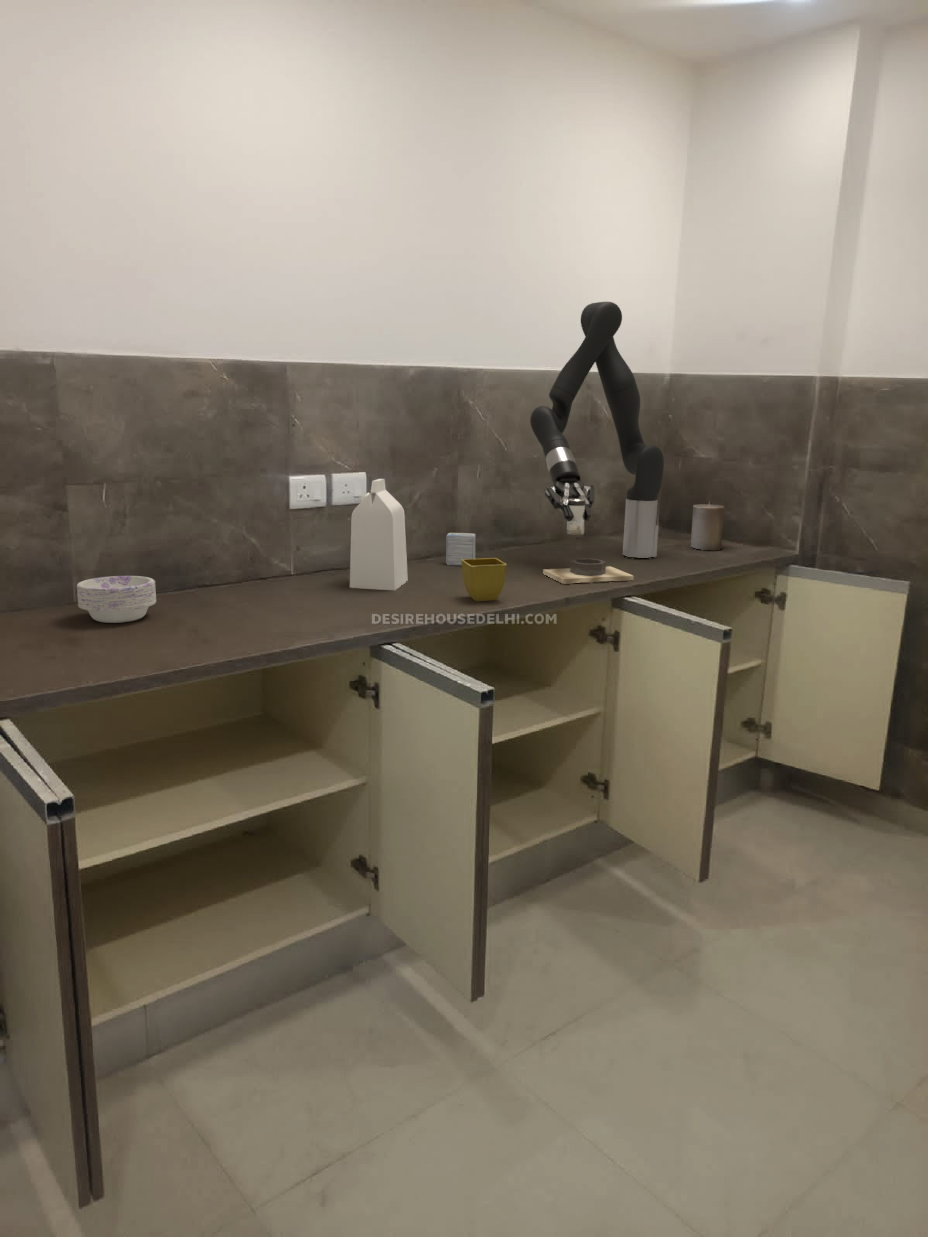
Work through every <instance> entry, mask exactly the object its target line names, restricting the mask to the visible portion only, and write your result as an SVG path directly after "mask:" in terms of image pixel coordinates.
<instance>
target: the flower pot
mask: <svg viewBox="0 0 928 1237" xmlns="http://www.w3.org/2000/svg"><path fill="white" fill-rule="evenodd" d="M461 564H462V565H461V572H462V573H461V574H462V579H463V583H464V584H463V585H464V587H465V589H466V591H467V594H468V595H469V597H470V598H471V599H473V600H474V601H475V602H488V601H489V602H490V601H496V600H498V598H499V596H500V595H501V593H502V592H503V589H504V585H505V580H506V573H507V566H508V565H507V563H506V562H503V561H502V560H500V559H499V558H497V557H489V558H488V557H487V558H485V557H484V558H475V559H462V560H461Z"/></svg>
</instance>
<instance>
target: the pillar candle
mask: <svg viewBox="0 0 928 1237" xmlns="http://www.w3.org/2000/svg"><path fill="white" fill-rule="evenodd" d="M724 517H725V506H724V505H722V504H721V505H720V504H711V501H709V502H708V503H707V504H705V503H704V504H703V503H701V504H699V503H698V504H693V506H692V520H691V534H690V548H691V547H693V548H696V549H701V550H700V551H703V550H711V552H713V551H721V550H722V544H723V543H722V542H723V533H724V531H723V530H724V529H723V528H724V519H725V518H724ZM693 548H692V549H693ZM696 549H695V550H696ZM720 549H721V550H720Z"/></svg>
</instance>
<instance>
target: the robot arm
mask: <svg viewBox="0 0 928 1237" xmlns="http://www.w3.org/2000/svg"><path fill="white" fill-rule="evenodd" d="M622 321H623V313H622V310H621V308H620V306H619V305H617V304H616V303H614V302H613V301H598V302H591V303H589V304H587V305H586V306H585V307H583V310H582V311H581V314H580V327H581V330H582V332H583V335H584V339H583V341H582V342H581V344H580V346H579V347H578V349H576V351H575V352H574V353H573V355H572V356H571V357H570V359H568V361H567V362H566V363H565V365H564V366H563V367H562V368H561V370H560V371H559V373H558V376H557V377H556V379H555V380H554V383H553V385H552V387H551V389H550V390H549V393H548V397H549V399H550V400H551V402H552V408H550V407H549V406H544V405H539V406H537V407H536V408H534V409H533V411H532V412H531V414H530V417H529V418H530V427H531V430H532V431H533V433H534V436H535V438H536V439H537V441H538V442H539V444H540V445H541V448H542V451H543V455H544V457H545V461H546V466H547V471H548V473H549V476H550V480H551V483H552V485H553V486H550V485H548V486H546V487H547V488H546V489H545V492H544V495H545V497H546V498H547V499H548V501H549V502H550V504H551V505H552V507H553V508H554V509H555V510H557V509H560V510H561V511H562V514H563V518H564V519H565V520H566V521H571V519H572V513H571V510H570V507H569V505H568V499H570V498H582V499H585V521H584V522H586V521H589V520H590V518H591V516H592V511H591V508H592V507H593V505H594V503H595V485H593V484H590V485H589V486H588V485H585V484H584V483H583V482H582V480H581V475H580V472H579V469H578V466H577V463H576V460H575V458H574V455H573V453H572V451H571V449H570V445H569V442H568V440H567V438H566V436H565V435H564V434H563V433H564V431H565V430H566V428H567V425H568V422H569V419H570V415H571V410H572V404H573V402H574V400H575V398H576V396H577V395H578V393H579V391H580V390H581V387H582V385H583V384H584V381H585V379H586V378H587V376H588V374H589V373H590V371H591V369H592V367H594V364H595V365H596V368H597V372H598V375H599V378H600V381H601V386H602V389H603V392H604V395H605V396H604V397H605V399H606V403H607V405H608V407H609V410H610V414H611V418H612V420H613V424H614V427H615V430H616V434H617V439H618V443H619V448H620V453H621V459H622V463H623V466H624V468H625V469H626V471H627V472H628V473H630V474H631V475H634V476H635V479H634V480H635V481H634V483H633V485H632V486H631V487H629V488H628V489H627V490H626V496H625V510H624V526H623V527H624V528H623V529H624V530H623V531H624V532H623V542H622V543H623V544H622V556H623V555H625V556H627V557H638V558H648V557H654V558H657V554H658V540H659V528H660V527H659V525H657V515H658V514H657V513H658V503H659V502H658V500H659V494H660V492H661V489H662V485H663V484H662V483H663V477H664V471H665V470H664V468H665V457H664V452H663V451H662V449H661V448H660V447H659V446H657V445H653V444H645V441H644V440H643V435H642V433H641V430H640V425H639V418H640V411H641V396H640V392H639V391H640V390H639V388H638V385H637V380H636V378H635V376H634V373H633V371H632V370H631V368H630V366H629V365H628V363H627V362H626V360H625V359H624V358H623V356H622V355H621V354H620V351H619V349H618V347H617V345H616V342H615V337H614V336H615V335H616V333H617V332H618V331H619V329H620V328H621V325H622ZM559 497H560V498H559ZM586 497H587V498H586ZM627 557H626V558H627Z"/></svg>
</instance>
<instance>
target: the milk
mask: <svg viewBox="0 0 928 1237" xmlns="http://www.w3.org/2000/svg"><path fill="white" fill-rule="evenodd" d="M360 501H361V502H359V503H358V505H357V506H356V507H354V509H353V511H352V513H351V517H350V518H351V522H350V523H351V524H350V527H351V528H350V529H351V530H350V559H349V560H350V561H349V562H350V564H349V589H350V588H351V589H363V590H366V589H367V590H379V591H380V590H382V591H396V590H397V589H399V588H400V587H402V586H403V585H404V584H406V583H407V582H408V581H409V579H408V577H409V576H408V560H407V556H408V554H407V541H406V540H407V539H406V536H407V534H406V518H405V515H406V514H405V509H404V507H403V506H402V504H401V503H400V502H399V501H398V500H397V499H396V498H395V497H394V496H393V495H392V494H391V493H389V491H388V490H387V488H386V479H385V478H377V479H374V480H372V481H371V487H370V492H367V493H366V494H364V495H363V496H362V497H361V499H360ZM406 581H407V582H406ZM401 585H402V586H401Z"/></svg>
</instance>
